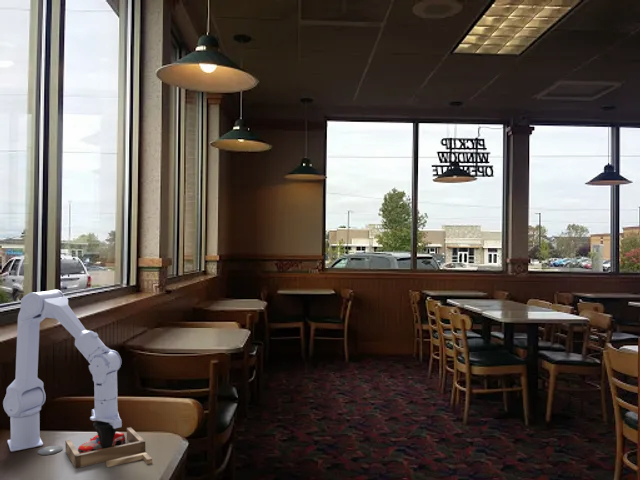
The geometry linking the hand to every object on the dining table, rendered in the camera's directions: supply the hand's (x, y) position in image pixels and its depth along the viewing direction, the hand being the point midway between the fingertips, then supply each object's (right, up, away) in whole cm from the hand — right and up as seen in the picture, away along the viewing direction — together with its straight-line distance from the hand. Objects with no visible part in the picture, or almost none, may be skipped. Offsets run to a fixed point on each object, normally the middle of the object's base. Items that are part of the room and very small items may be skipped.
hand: (106, 448), depth 149 cm
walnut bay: (-1, -1, +1) cm, 2 cm away
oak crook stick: (+8, -1, -7) cm, 11 cm away
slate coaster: (-16, -2, +3) cm, 17 cm away
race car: (-3, -2, +4) cm, 5 cm away
